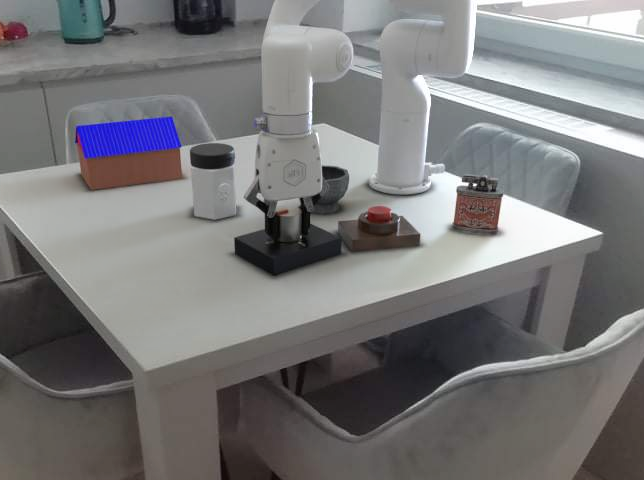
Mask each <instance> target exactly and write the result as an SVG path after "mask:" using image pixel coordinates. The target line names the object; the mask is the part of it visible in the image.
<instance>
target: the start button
mask: <svg viewBox="0 0 644 480" xmlns="http://www.w3.org/2000/svg"><path fill="white" fill-rule="evenodd" d="M367 211H368V218H367V219H368V220H370V221H372V222H388V221H390V220H391V212H392V209H391V208H390V207H387V206H383V205H375V206H371V207H369V208H368V209H367Z"/></svg>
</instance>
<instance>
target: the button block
mask: <svg viewBox="0 0 644 480" xmlns="http://www.w3.org/2000/svg"><path fill="white" fill-rule="evenodd" d="M357 218H358V219H348V220H338V221H337V233H338V236H339V237H341V238H342V239H341V240H342V241H343V242H344V243H345V244H346V245H347V247H348V249H349V250H350V251H351V252H352V253H355V252H356V253H357V252H366V251H367V252H368V251H377V250H389V249H399V248H412V247H420V243H421V233H420V232H419V231H418V229H416V227H414V226H413V224H411V223H410V222H409V221H408V220H407V218H405V217H404V216H403V215H398V214H397V213H395V212H392V211H391V220H390V221H388V222H372V221H370V220H368V219H367V218H368V210H367V211H364V212H362V213H360V214H359V216H358V217H357Z"/></svg>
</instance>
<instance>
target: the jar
mask: <svg viewBox="0 0 644 480" xmlns="http://www.w3.org/2000/svg"><path fill="white" fill-rule="evenodd" d="M189 158H190V159H189V160H190V161H189V162H190V177H191V191H192V203H193V215H194V217H196V218H201V219H202V218H203V219H207V220H213V221H216V220H221V219H225V218H229V217H235V216H236V215H237V197H236V194H237V193H236V172H235V171H236V169H235V163H236V153H235V148H234V147H233V146H232V145H230V144H226V143H220V142H219V143H218V142H208V143H201V144H197V145H193V146H192V147H190V149H189Z"/></svg>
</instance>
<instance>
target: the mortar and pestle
mask: <svg viewBox="0 0 644 480" xmlns="http://www.w3.org/2000/svg"><path fill="white" fill-rule="evenodd" d="M322 176H323V178H324V179H325V180H326V182H327V183H328V184H329V186H330V189H329V190H328V191H327V192H326V193H325V194H324V195H323V196H321V198H320V200H319V201H318V202H317V203H316V204H315V206H314V209H313V211H311V213H314V214H322V215H323V214H325V215H326V214H331V213H335V212H337V211H338V210H340V207H339V201H340V200H341V199H342V198H344V197H345V195H346V193H347V191H348V188H349V184H350V173H349V171H348V169H347V168H343V167H340V166H337V165H324V164H322Z"/></svg>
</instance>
